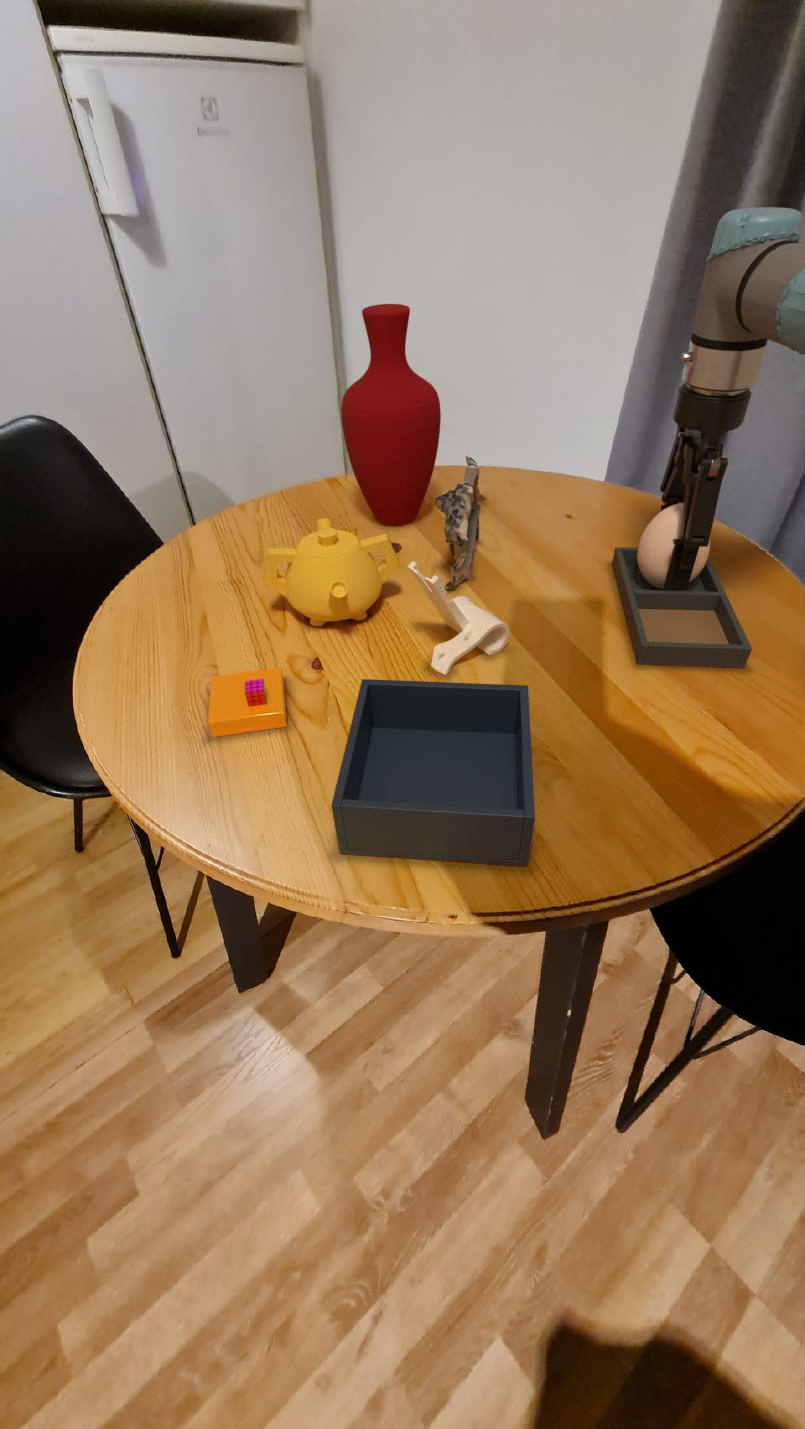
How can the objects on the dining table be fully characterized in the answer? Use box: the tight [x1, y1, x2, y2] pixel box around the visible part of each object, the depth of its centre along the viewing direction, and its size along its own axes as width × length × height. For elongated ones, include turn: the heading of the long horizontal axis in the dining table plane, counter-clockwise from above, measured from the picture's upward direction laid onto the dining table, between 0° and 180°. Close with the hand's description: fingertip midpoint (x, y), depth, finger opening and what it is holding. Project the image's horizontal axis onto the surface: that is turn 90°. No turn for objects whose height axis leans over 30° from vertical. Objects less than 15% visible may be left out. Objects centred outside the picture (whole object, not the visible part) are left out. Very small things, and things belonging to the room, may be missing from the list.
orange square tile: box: [207, 667, 288, 738], centre depth 72 cm, size 8×8×4 cm
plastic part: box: [407, 560, 511, 676], centre depth 77 cm, size 8×10×12 cm
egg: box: [637, 503, 711, 590], centre depth 85 cm, size 9×9×12 cm
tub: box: [330, 678, 536, 868], centre depth 62 cm, size 17×17×7 cm
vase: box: [340, 303, 442, 527], centre depth 98 cm, size 15×15×30 cm
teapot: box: [261, 517, 401, 627], centre depth 85 cm, size 20×18×11 cm
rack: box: [611, 546, 753, 669], centre depth 84 cm, size 12×23×3 cm, turn 174°
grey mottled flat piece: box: [434, 456, 482, 591], centre depth 91 cm, size 15×4×13 cm, turn 168°
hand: (668, 568), depth 87 cm, fingers open, 9 cm apart
